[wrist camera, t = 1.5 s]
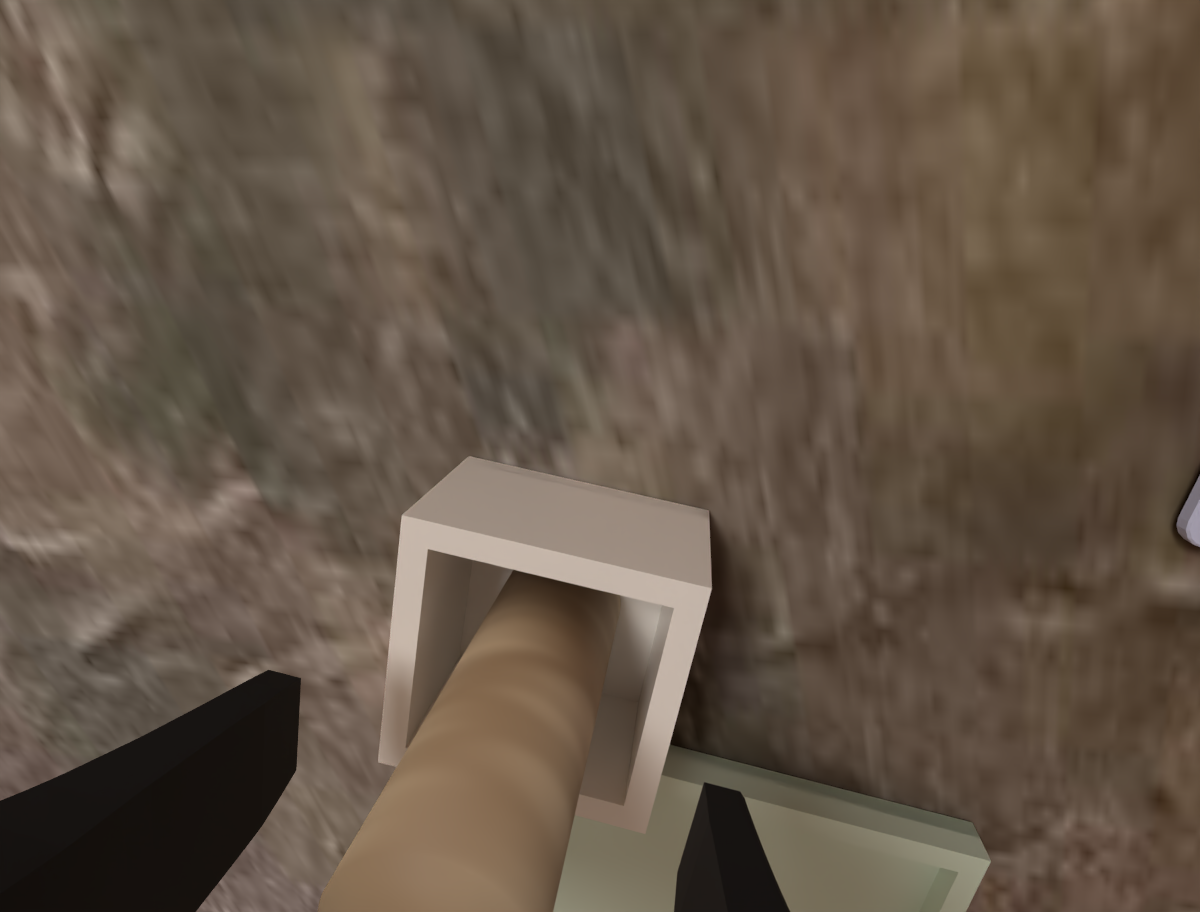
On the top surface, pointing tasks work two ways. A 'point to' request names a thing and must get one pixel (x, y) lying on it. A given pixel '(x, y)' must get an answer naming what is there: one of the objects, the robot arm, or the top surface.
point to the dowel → (491, 765)
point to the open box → (566, 553)
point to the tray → (780, 846)
